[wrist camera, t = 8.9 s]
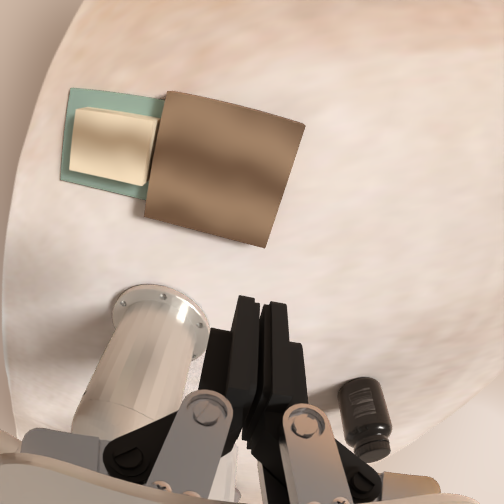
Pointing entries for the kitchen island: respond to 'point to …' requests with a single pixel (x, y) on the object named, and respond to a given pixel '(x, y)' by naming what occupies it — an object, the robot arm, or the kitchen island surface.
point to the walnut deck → (220, 167)
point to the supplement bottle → (365, 419)
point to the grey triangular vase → (225, 477)
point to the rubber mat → (110, 102)
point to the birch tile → (114, 144)
